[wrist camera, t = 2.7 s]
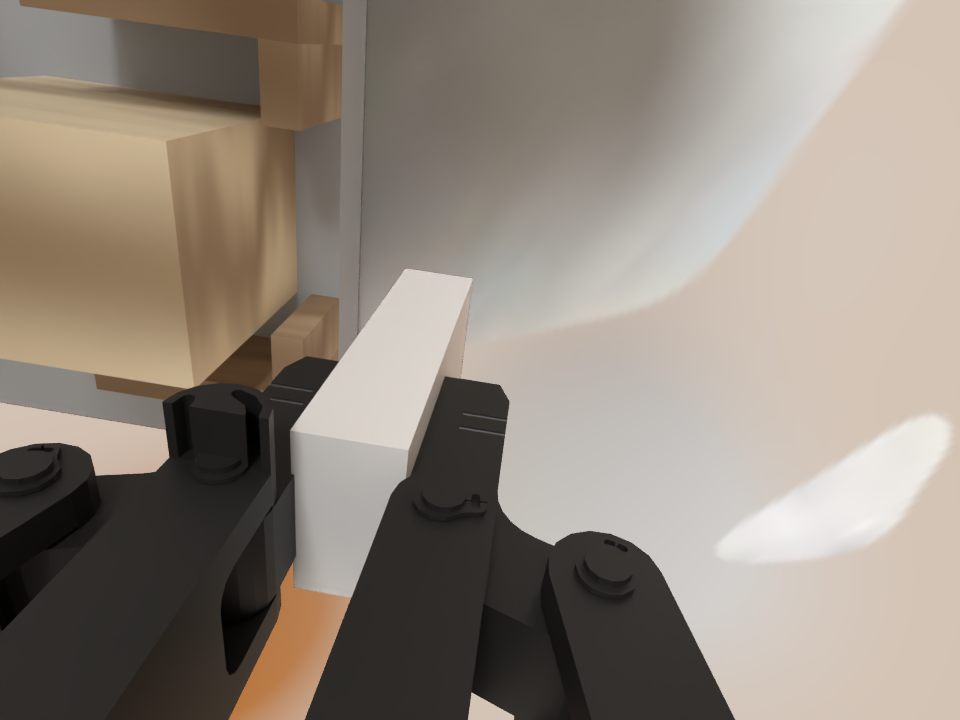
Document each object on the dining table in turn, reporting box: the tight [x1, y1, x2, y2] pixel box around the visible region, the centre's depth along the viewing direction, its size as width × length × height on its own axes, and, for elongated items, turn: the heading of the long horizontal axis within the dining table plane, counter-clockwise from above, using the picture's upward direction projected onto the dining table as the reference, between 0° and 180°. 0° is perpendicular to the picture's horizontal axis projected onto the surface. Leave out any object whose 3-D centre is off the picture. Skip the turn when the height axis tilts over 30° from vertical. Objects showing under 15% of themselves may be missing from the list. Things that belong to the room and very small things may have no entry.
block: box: [0, 76, 298, 389], centre depth 17 cm, size 6×8×7 cm
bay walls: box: [19, 0, 343, 400], centre depth 19 cm, size 12×7×4 cm, turn 173°
